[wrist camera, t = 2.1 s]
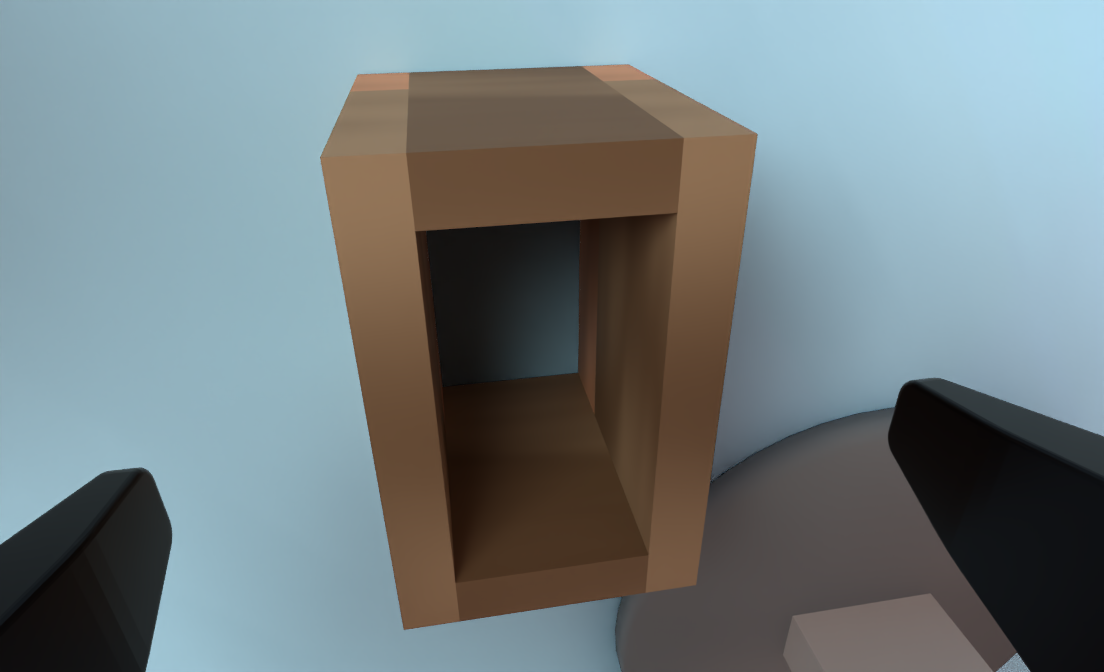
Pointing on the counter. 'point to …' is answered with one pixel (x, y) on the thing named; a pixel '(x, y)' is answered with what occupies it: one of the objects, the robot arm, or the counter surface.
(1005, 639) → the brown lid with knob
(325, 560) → the counter surface
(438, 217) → the walnut sleeve
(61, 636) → the robot arm
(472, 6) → the counter surface
